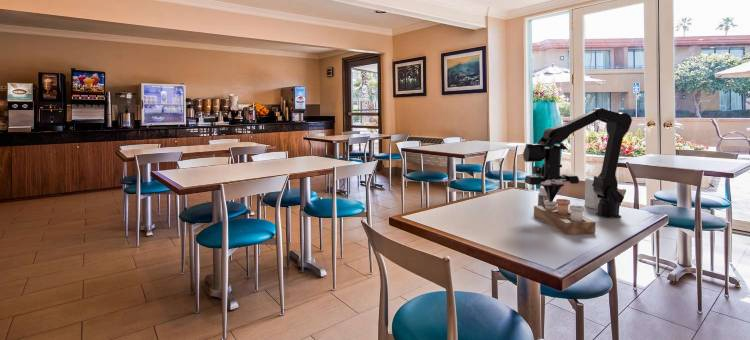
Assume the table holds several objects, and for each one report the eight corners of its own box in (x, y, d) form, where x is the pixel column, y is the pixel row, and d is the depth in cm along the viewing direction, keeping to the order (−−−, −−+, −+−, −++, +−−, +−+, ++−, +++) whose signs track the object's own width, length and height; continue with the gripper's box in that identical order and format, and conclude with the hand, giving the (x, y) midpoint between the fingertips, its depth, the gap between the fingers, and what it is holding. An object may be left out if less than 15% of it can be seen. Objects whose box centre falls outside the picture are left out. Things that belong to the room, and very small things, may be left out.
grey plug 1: (552, 215, 163) (553, 200, 162) (558, 218, 158) (559, 202, 157) (541, 215, 162) (542, 200, 162) (546, 218, 158) (547, 203, 157)
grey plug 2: (579, 221, 144) (580, 204, 143) (586, 225, 139) (587, 207, 138) (566, 221, 143) (567, 204, 142) (573, 225, 139) (573, 208, 138)
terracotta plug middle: (565, 214, 153) (566, 198, 152) (571, 217, 148) (572, 201, 148) (553, 215, 153) (553, 199, 152) (559, 218, 148) (560, 201, 147)
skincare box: (603, 208, 172) (604, 179, 171) (593, 209, 171) (595, 180, 170) (592, 205, 178) (594, 177, 177) (583, 206, 177) (584, 178, 176)
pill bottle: (554, 212, 168) (555, 188, 166) (539, 212, 169) (540, 188, 167) (550, 209, 173) (551, 185, 172) (536, 208, 174) (537, 185, 173)
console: (558, 214, 164) (559, 205, 163) (595, 233, 139) (595, 221, 138) (533, 215, 163) (534, 205, 162) (565, 234, 138) (566, 222, 138)
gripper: (565, 158, 166) (563, 196, 168) (519, 159, 165) (518, 197, 167) (580, 161, 155) (578, 202, 157) (531, 163, 154) (530, 204, 156)
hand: (550, 201), depth 159 cm, fingers closed, pressing on grey plug 1
